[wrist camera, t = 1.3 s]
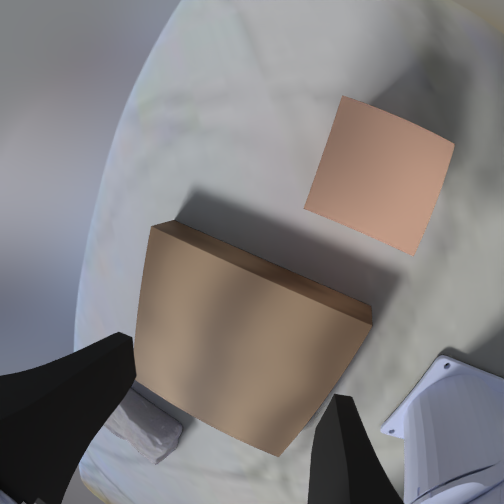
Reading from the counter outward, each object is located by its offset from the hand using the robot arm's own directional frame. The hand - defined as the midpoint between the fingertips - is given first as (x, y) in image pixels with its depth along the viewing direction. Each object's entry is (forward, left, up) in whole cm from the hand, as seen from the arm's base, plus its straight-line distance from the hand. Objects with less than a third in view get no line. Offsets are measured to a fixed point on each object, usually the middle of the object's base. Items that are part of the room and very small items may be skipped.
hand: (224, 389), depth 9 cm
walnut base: (+2, +6, -10) cm, 11 cm away
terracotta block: (-2, -8, -10) cm, 13 cm away
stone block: (+10, +23, -10) cm, 27 cm away
